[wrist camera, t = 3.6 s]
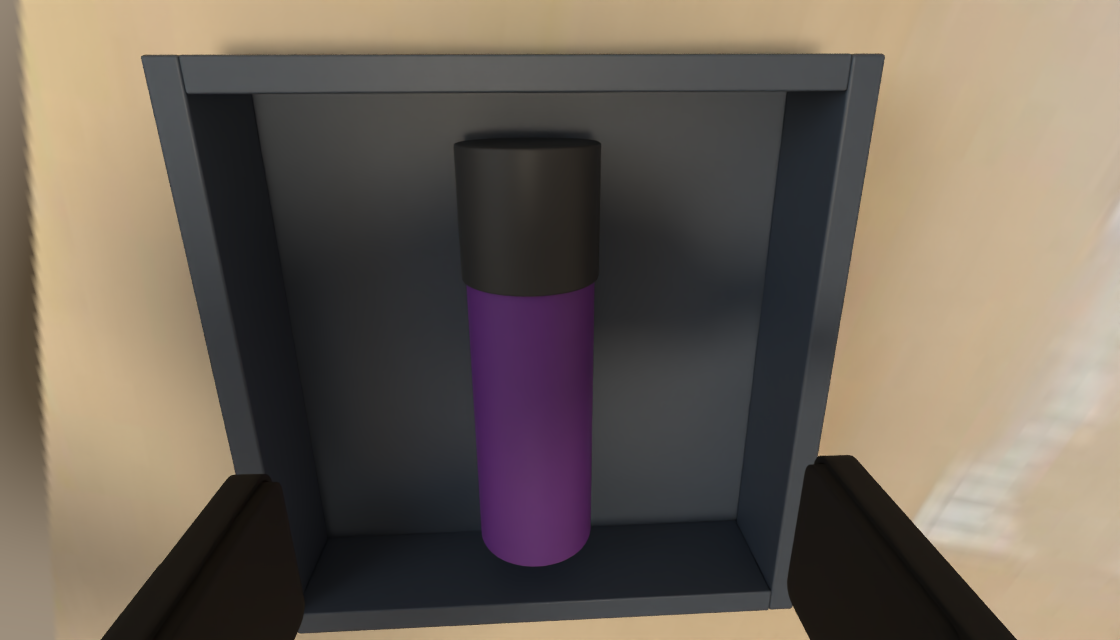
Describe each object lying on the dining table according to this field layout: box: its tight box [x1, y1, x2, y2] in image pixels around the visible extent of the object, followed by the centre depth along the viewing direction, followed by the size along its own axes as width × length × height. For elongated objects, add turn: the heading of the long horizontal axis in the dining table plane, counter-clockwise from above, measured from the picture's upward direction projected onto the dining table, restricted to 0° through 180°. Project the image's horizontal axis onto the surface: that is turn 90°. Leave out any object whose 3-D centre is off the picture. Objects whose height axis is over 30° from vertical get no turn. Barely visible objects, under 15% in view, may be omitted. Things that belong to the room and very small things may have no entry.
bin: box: [141, 54, 885, 633], centre depth 18 cm, size 17×17×4 cm
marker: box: [453, 137, 601, 567], centre depth 18 cm, size 4×12×4 cm, turn 0°
